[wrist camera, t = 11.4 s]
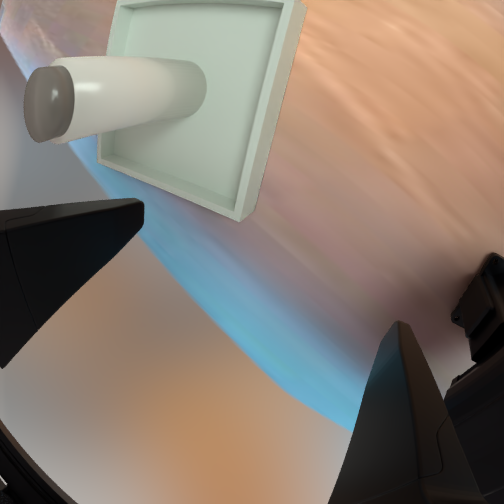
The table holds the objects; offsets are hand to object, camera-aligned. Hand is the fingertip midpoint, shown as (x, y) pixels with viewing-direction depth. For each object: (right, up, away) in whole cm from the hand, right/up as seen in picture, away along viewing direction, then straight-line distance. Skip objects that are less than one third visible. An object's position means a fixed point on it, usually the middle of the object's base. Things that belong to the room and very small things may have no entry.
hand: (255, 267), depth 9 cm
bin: (-5, +13, +12) cm, 19 cm away
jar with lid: (-6, +13, +11) cm, 18 cm away
